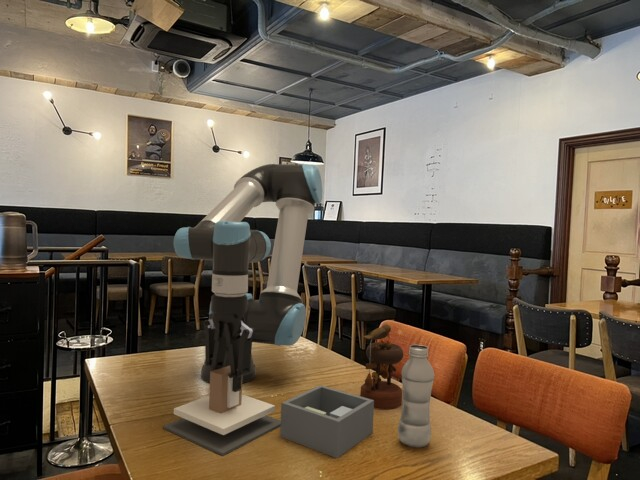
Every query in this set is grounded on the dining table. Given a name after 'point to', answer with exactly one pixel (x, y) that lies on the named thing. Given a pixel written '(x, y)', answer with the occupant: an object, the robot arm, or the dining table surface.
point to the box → (327, 420)
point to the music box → (382, 371)
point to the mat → (219, 441)
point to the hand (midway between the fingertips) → (225, 402)
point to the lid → (223, 407)
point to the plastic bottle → (416, 398)
